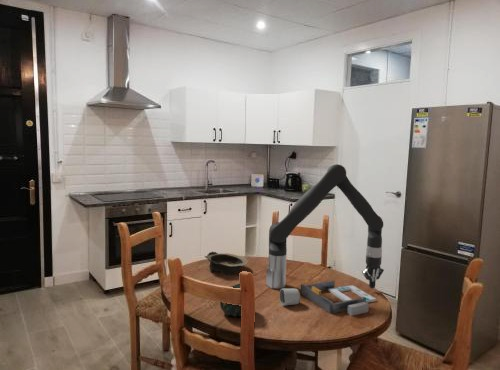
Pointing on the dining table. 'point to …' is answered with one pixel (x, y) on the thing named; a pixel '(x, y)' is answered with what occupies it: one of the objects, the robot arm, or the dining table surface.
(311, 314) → the dining table surface
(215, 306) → the dining table surface
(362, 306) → the panel
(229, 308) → the squash
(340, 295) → the grey flat arch
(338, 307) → the rack bay
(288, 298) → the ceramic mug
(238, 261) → the stone bowl
